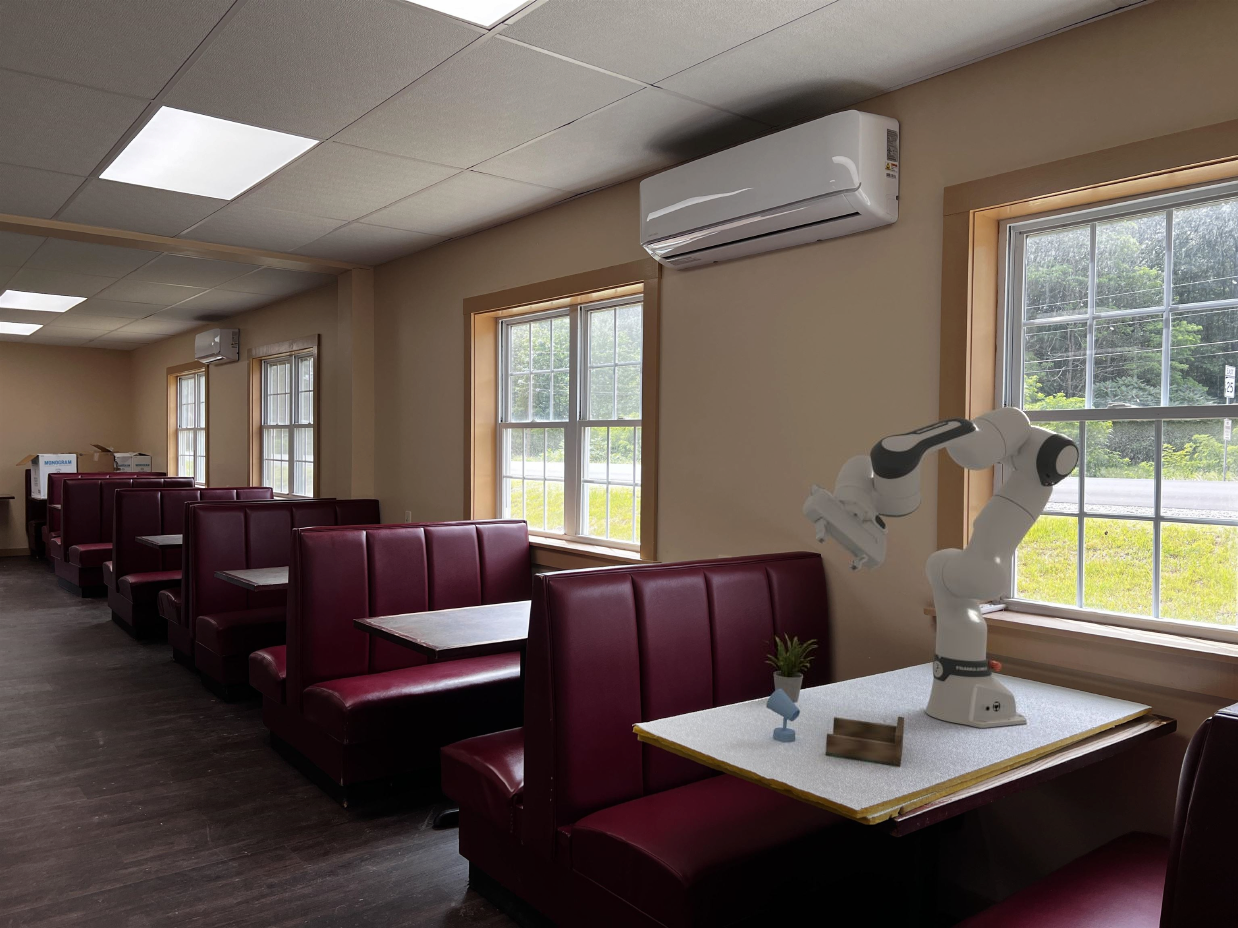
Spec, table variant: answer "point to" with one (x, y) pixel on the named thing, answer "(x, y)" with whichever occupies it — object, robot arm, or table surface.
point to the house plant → (790, 668)
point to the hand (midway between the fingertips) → (837, 554)
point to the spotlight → (783, 714)
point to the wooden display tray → (866, 741)
